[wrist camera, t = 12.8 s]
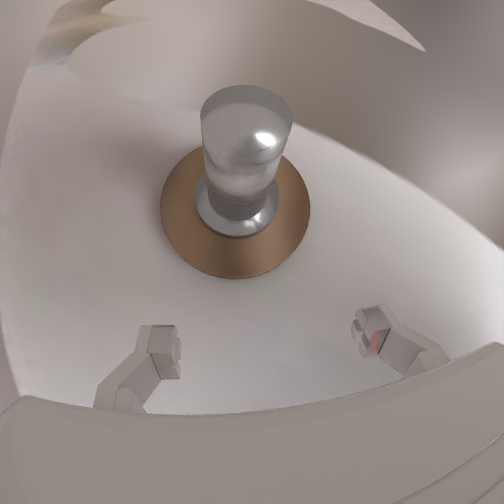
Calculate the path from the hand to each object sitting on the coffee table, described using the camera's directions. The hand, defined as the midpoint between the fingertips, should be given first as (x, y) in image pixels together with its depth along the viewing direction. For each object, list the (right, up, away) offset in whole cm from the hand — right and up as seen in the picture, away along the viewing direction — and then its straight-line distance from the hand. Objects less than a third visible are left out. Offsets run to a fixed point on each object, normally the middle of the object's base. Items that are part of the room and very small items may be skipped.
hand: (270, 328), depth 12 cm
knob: (-2, +7, +10) cm, 12 cm away
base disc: (-2, +7, +11) cm, 14 cm away
